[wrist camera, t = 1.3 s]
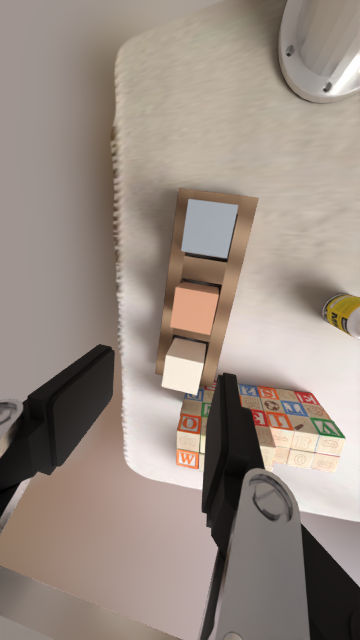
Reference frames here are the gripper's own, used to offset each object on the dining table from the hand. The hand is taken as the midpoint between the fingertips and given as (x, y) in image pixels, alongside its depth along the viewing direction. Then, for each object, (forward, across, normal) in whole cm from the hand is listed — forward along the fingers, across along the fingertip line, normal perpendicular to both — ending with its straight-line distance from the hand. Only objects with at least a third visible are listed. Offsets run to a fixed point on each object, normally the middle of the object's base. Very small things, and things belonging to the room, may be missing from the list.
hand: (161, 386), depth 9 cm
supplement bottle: (+24, -20, -2) cm, 31 cm away
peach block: (+20, 0, 0) cm, 20 cm away
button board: (+23, 0, 0) cm, 23 cm away
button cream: (+20, 0, +9) cm, 22 cm away
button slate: (+20, 0, -9) cm, 22 cm away
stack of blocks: (+24, -12, +17) cm, 31 cm away
